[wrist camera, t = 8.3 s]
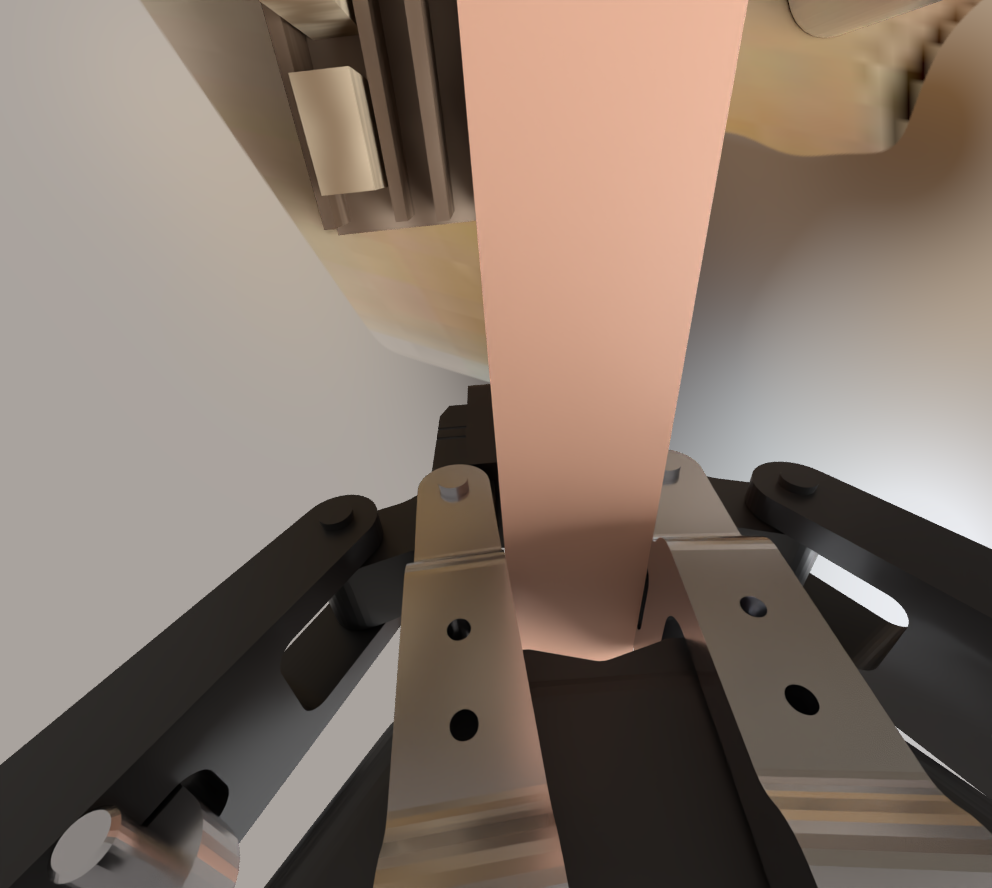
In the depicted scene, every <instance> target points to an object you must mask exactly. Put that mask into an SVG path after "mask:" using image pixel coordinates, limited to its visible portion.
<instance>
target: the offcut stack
mask: <svg viewBox="0 0 992 888" xmlns="http://www.w3.org/2000/svg"><path fill="white" fill-rule="evenodd" d="M259 1H260V2H262V3H263V4H264V5H266V6H267V7H268V8H270V9H271V10H273V11H274V12H275V13H277V14H278V15H279V16H281V17H282V18H283V19H285V20H286V21H288V22H289V23H290V24H292V25H293V26H294V27H296V28H297V29H299V30H300V31H301V32H303V33H304V34H305V35H307V36H308V37H310V38H311V39H312V40H319V39H327V38H336V37H344V36H353V35H359V32H358V27H357V22H356V17H355V12H354V7H353V2H352V0H259ZM288 74H289V77H290V81H291V85H292V88H293V92H294V96H295V99H296V103H297V107H298V110H299V114H300V118H301V122H302V125H303V129H304V133H305V136H306V140H307V144H308V147H309V151H310V155H311V158H312V162H313V166H314V169H315V173H316V177H317V180H318V184H319V188H320V191H321V195H322V196H325V195H335V194H344V193H353V192H362V191H372V190H377V189H381V188H385V187H389V185H388V180H387V175H386V170H385V165H384V160H383V155H382V150H381V145H380V139H379V134H378V129H377V124H376V119H375V114H374V109H373V104H372V99H371V94H370V88H369V83H368V80H367V79H366V78H364V77H363V76H362V75H360V74H359V73H358V72H356V71H355V70H354V69H352V68H351V67H349V66H344V67H336V68H327V69H318V70H310V71H301V72H292V73H288Z"/></svg>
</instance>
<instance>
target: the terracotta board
mask: <svg viewBox="0 0 992 888" xmlns="http://www.w3.org/2000/svg"><path fill="white" fill-rule="evenodd" d="M747 4H748V0H457V6H458V18H459V29H460V41H461V52H462V64H463V75H464V87H465V98H466V110H467V121H468V133H469V144H470V155H471V167H472V178H473V190H474V201H475V213H476V224H477V236H478V247H479V259H480V270H481V282H482V293H483V305H484V316H485V328H486V339H487V350H488V362H489V373H490V385H491V396H492V408H493V419H494V431H495V442H496V454H497V465H498V477H499V488H500V500H501V511H502V523H503V534H504V546H505V557H506V563H507V568H508V574H509V579H510V585H511V590H512V596H513V601H514V607H515V612H516V618H517V623H518V628H519V634H520V639H521V645H522V650H525V649H531V650H536V651H542V652H548V653H554V654H560V655H565V656H571V657H577V658H583V659H589V660H594V661H606V660H609V659H612V658H615V657H618V656H621V655H623V654H626V653H629V652H632V651H633V647H634V646H633V644H634V639H635V633H636V627H637V624H638V619H639V613H640V607H641V602H642V596H643V591H644V585H645V579H646V574H647V568H648V566H647V565H648V559H649V554H650V548H651V542H652V540H653V534H654V529H655V523H656V517H657V512H658V506H659V500H660V495H661V489H662V483H663V478H664V472H665V466H666V461H667V455H668V450H669V444H670V438H671V432H672V427H673V421H674V416H675V409H676V404H677V398H678V393H679V387H680V382H681V376H682V370H683V365H684V359H685V354H686V348H687V342H688V337H689V331H690V325H691V320H692V314H693V308H694V303H695V297H696V292H697V286H698V280H699V275H700V269H701V263H702V258H703V252H704V246H705V241H706V235H707V230H708V224H709V218H710V213H711V206H712V201H713V195H714V190H715V184H716V178H717V172H718V167H719V161H720V156H721V151H722V145H723V139H724V134H725V128H726V122H727V117H728V111H729V105H730V100H731V94H732V89H733V83H734V77H735V72H736V66H737V60H738V55H739V49H740V43H741V38H742V32H743V26H744V21H745V15H746V10H747Z"/></svg>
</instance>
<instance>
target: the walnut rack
mask: <svg viewBox="0 0 992 888" xmlns="http://www.w3.org/2000/svg"><path fill="white" fill-rule="evenodd" d="M352 2H353V7H354V12H355V17H356V22H357V27H358V32H359V35H353V36H344V37H336V38H327V39H319V40H312V39H311V38H310V37H308V36H307V35H305V34H304V33H303V32H301V31H300V30H299V29H297V28H296V27H294V26H293V25H292V24H290V23H289V22H288V21H286V20H285V19H283V18H282V17H281V16H279V15H278V14H277V13H275V12H274V11H273V10H271V9H270V8H268V7H267V6H266V5H264V4H263V3H262V2H261V5H262V8H263V12H264V16H265V19H266V23H267V26H268V30H269V33H270V37H271V41H272V44H273V48H274V51H275V55H276V58H277V62H278V66H279V69H280V73H281V76H282V80H283V84H284V87H285V91H286V94H287V98H288V101H289V105H290V109H291V112H292V116H293V119H294V123H295V126H296V130H297V134H298V137H299V141H300V144H301V148H302V151H303V155H304V159H305V162H306V166H307V169H308V173H309V176H310V180H311V184H312V187H313V191H314V194H315V198H316V201H317V205H318V209H319V212H320V216H321V219H322V223H323V227H324V230H328V229H337V231H338V235H345V234H354V233H363V232H373V231H382V230H392V229H401V228H411V227H420V226H430V225H439V224H449V223H458V222H468V221H476V213H475V201H474V190H473V178H472V167H471V155H470V144H469V133H468V121H467V110H466V98H465V87H464V75H463V64H462V52H461V41H460V29H459V18H458V6H457V0H352ZM344 66H349V67H351V68H352V69H354V70H355V71H356V72H358V73H359V74H360V75H362V76H363V77H364V78H366V79H367V80H368V83H369V88H370V94H371V99H372V104H373V109H374V114H375V119H376V124H377V129H378V134H379V139H380V145H381V150H382V155H383V160H384V165H385V170H386V175H387V180H388V185H389V187H385V188H381V189H377V190H372V191H362V192H353V193H344V194H335V195H325V196H322V195H321V191H320V188H319V184H318V180H317V177H316V173H315V169H314V166H313V162H312V158H311V155H310V151H309V147H308V144H307V140H306V136H305V133H304V129H303V125H302V122H301V118H300V114H299V110H298V107H297V103H296V99H295V96H294V92H293V88H292V85H291V81H290V77H289V74H288V73H292V72H301V71H310V70H318V69H327V68H336V67H344Z"/></svg>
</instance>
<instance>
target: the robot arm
mask: <svg viewBox="0 0 992 888" xmlns="http://www.w3.org/2000/svg"><path fill="white" fill-rule="evenodd" d="M788 1H789V6H790V10H791V13H792V15H793V17H794V19H795V21H796V23H797V24H798V25H799V26H800V27H801V28H802V29H803V30H804V31H805V32H807V33H809V34H810V35H812V36H815V37H821V38H830V37H837V36H840V35H843V34H846V33H849V32H852V31H855V30H857V29H860V28H863V27H866V26H869V25H872V24H875V23H878V22H881V21H884V20H887V19H890V18H893V17H896V16H898V15H901V14H904V13H907V12H910V11H913V10H916V9H918V8H921V7H924V6H927V5H930V4H933V3H936V2H938V1H941V0H788ZM467 403H468V404H467V405H455V406H449V407H448V408H447V409H446V410H445V412H444V413H443V414H442V415H441V416H440V420H439V427H438V434H437V441H436V447H435V455H434V461H433V468H432V472H431V473H429V474H428V475H427V476H425V477H424V478H423V480H422V481H421V482H420V484H419V487H418V494H417V496H415V497H413V498H412V499H410V500H408V501H406V502H403V503H401V504H397V505H394V506H391V507H388V508H384V509H381V510H378V511H377V508H376V506H375V504H374V502H373V501H371V500H370V499H369V498H366V497H364V496H359V495H345V496H339V497H335V498H332V499H329V500H326V501H324V502H322V503H320V504H318V505H317V506H315V507H314V508H313V509H311V510H310V511H309V512H307V513H306V514H305V515H304V516H302V517H301V518H300V519H299V520H298V521H296V522H295V523H294V524H293V525H292V526H290V527H289V528H288V529H287V530H285V531H284V532H283V533H282V534H281V535H279V536H278V537H277V538H276V539H275V540H274V541H272V542H271V543H270V544H269V545H267V546H266V547H265V548H264V549H262V550H261V551H260V552H259V553H258V554H256V555H255V556H254V557H253V558H251V559H250V560H249V561H248V562H247V563H245V564H244V565H243V566H242V567H241V568H239V569H238V570H237V571H236V572H235V573H233V574H232V575H231V576H230V577H228V578H227V579H226V580H225V581H224V582H222V583H221V584H220V585H219V586H217V587H216V588H215V589H214V590H213V591H212V592H210V593H209V594H208V595H206V596H205V597H204V598H203V599H202V600H200V601H199V602H198V603H197V604H196V605H194V606H193V607H192V608H191V609H190V610H188V611H187V612H186V613H185V614H183V615H182V616H181V617H180V618H178V619H177V620H176V621H175V622H174V623H172V624H171V625H170V626H169V627H168V628H167V629H165V630H164V631H163V632H162V633H160V634H159V635H158V636H157V637H155V638H154V639H153V640H152V641H151V642H149V643H148V644H147V645H146V646H144V647H143V648H142V649H141V650H140V651H138V652H137V653H136V654H135V655H133V656H132V657H131V658H130V659H129V660H127V661H126V662H125V663H124V664H123V665H122V666H120V667H119V668H118V669H116V670H115V671H114V672H113V673H112V674H110V675H109V676H108V677H107V678H106V679H104V680H103V681H102V682H101V683H100V684H98V685H97V686H96V687H95V688H93V689H92V690H91V691H90V692H89V693H87V694H86V695H85V696H84V697H83V698H81V699H80V700H79V701H78V702H76V703H75V704H74V705H73V706H72V707H70V708H69V709H68V710H67V711H65V712H64V713H63V714H62V715H61V716H60V717H58V718H57V719H56V720H55V721H53V722H52V723H51V724H50V725H48V726H47V727H46V728H45V729H44V730H42V731H41V732H40V733H39V734H38V735H36V736H35V737H34V738H33V739H31V740H30V741H29V742H28V743H27V744H25V745H24V746H23V747H22V748H21V749H19V750H18V751H17V752H16V753H14V754H13V755H12V756H11V757H9V758H8V759H7V760H6V761H5V762H3V763H2V764H1V765H0V888H234V887H235V883H236V880H237V875H238V871H239V862H240V850H239V843H240V841H241V840H242V839H243V837H244V836H245V835H246V833H247V832H248V831H249V829H250V828H251V826H252V825H253V824H254V822H255V821H256V820H257V818H258V817H259V816H260V814H261V813H262V812H263V810H264V809H265V808H266V806H267V805H268V804H269V802H270V801H271V799H272V798H273V797H274V796H275V794H276V793H277V791H278V790H279V789H280V787H281V786H282V785H283V783H284V782H285V781H286V779H287V778H288V777H289V775H290V774H291V772H292V771H293V770H294V769H295V767H296V766H297V765H298V763H299V762H300V760H301V759H302V758H303V756H304V755H305V754H306V752H307V751H308V750H309V748H310V747H311V746H312V744H313V743H314V742H315V740H316V739H317V737H318V736H319V735H320V733H321V732H322V731H323V729H324V728H325V727H326V725H327V724H328V723H329V721H330V720H331V719H332V717H333V716H334V715H335V713H336V712H337V711H338V709H339V708H340V707H341V705H342V704H343V703H344V701H345V700H346V698H347V697H348V696H349V694H350V693H351V692H352V690H353V689H354V688H355V686H356V685H357V684H358V682H359V681H360V680H361V678H362V677H363V676H364V674H365V673H366V671H367V670H368V669H369V667H370V666H371V665H372V663H373V662H374V661H375V659H376V658H377V657H378V655H379V654H380V653H381V651H382V650H383V649H384V647H385V646H386V645H387V643H388V642H389V641H390V639H391V638H392V637H393V635H394V634H395V632H396V631H397V630H398V628H399V627H400V625H401V629H400V644H399V657H398V671H397V685H396V698H395V712H394V722H393V723H392V724H391V725H390V726H389V727H388V728H387V730H386V731H385V732H384V733H383V735H382V736H381V737H380V738H379V740H378V741H377V742H376V744H375V745H374V746H373V747H372V749H371V750H370V751H369V753H368V754H367V755H366V756H365V758H364V759H363V760H362V762H361V763H360V765H358V767H357V768H356V769H355V771H354V772H353V773H352V775H351V776H350V777H349V779H348V780H347V781H346V782H345V784H344V785H343V786H342V787H341V789H340V790H339V791H338V793H337V794H336V795H335V797H334V798H333V799H332V800H331V802H330V803H329V804H328V806H327V807H326V808H325V809H324V811H323V812H322V814H321V815H320V816H319V817H318V818H317V820H316V821H315V822H314V824H313V825H312V826H311V827H310V829H309V830H308V831H307V833H306V834H305V835H304V837H303V838H302V839H301V841H300V842H299V843H298V844H297V846H296V847H295V848H294V849H293V851H292V852H291V853H290V855H289V856H288V857H287V859H286V860H285V861H284V862H283V864H282V865H281V867H280V868H279V869H278V870H277V871H276V873H275V874H274V875H273V877H272V878H271V879H270V880H269V882H268V883H267V884H266V886H265V887H264V888H992V549H990V548H988V547H985V546H983V545H981V544H979V543H977V542H975V541H972V540H970V539H968V538H966V537H964V536H961V535H959V534H957V533H955V532H953V531H950V530H948V529H946V528H944V527H942V526H939V525H937V524H935V523H933V522H930V521H928V520H926V519H924V518H922V517H919V516H917V515H915V514H913V513H911V512H908V511H906V510H904V509H902V508H900V507H897V506H895V505H893V504H891V503H889V502H886V501H884V500H882V499H880V498H878V497H875V496H873V495H871V494H869V493H867V492H864V491H862V490H860V489H858V488H856V487H853V486H851V485H849V484H847V483H844V482H842V481H840V480H838V479H836V478H834V477H831V476H829V475H827V474H825V473H823V472H820V471H818V470H815V469H813V468H810V467H807V466H804V465H800V464H796V463H790V462H770V463H765V464H762V465H760V466H758V467H757V468H756V469H755V470H754V471H753V474H752V477H751V480H750V482H742V481H741V482H740V481H733V480H725V479H718V478H712V477H707V476H706V475H705V473H704V471H703V470H702V468H701V466H700V465H699V464H698V463H697V462H696V461H695V460H693V459H692V458H691V457H689V456H687V455H684V454H682V453H680V452H677V451H673V450H668V455H667V461H666V466H665V472H664V478H663V483H662V489H661V495H660V500H659V506H658V512H657V517H656V523H655V529H654V534H653V540H652V542H651V548H650V554H649V559H648V565H647V566H648V568H647V574H646V579H645V585H644V591H643V596H642V602H641V607H640V613H639V619H638V624H637V627H636V633H635V639H634V644H633V646H634V651H632V652H629V653H626V654H623V655H621V656H618V657H615V658H612V659H609V660H606V661H594V660H589V659H583V658H577V657H571V656H565V655H560V654H554V653H548V652H542V651H536V650H531V649H525V650H522V645H521V639H520V634H519V628H518V623H517V618H516V612H515V607H514V601H513V596H512V590H511V585H510V579H509V574H508V568H507V563H506V558H505V553H504V550H502V549H501V548H505V546H504V534H503V523H502V511H501V500H500V488H499V477H498V465H497V454H496V442H495V431H494V419H493V408H492V396H491V385H490V384H486V385H473V386H468V401H467ZM818 554H819V555H821V556H823V557H825V558H826V559H828V560H830V561H831V562H833V563H835V564H836V565H838V566H840V567H842V568H843V569H845V570H847V571H848V572H850V573H852V574H854V575H855V576H857V577H859V578H860V579H862V580H864V581H866V582H867V583H869V584H870V585H872V586H874V587H876V588H877V589H879V590H881V591H882V592H884V593H886V594H888V595H889V596H891V597H892V598H893V599H895V600H896V601H897V602H898V603H899V604H900V605H901V606H902V607H903V609H904V610H905V612H906V613H907V616H908V619H909V625H908V627H901V626H897V625H894V624H891V623H889V622H887V621H886V620H884V619H882V618H881V617H879V616H878V615H876V614H874V613H873V612H871V611H870V610H868V609H866V608H865V607H863V606H862V605H860V604H858V603H857V602H855V601H854V600H852V599H851V598H848V597H847V596H846V595H844V594H842V593H841V592H839V591H838V590H836V589H834V588H833V587H831V586H830V585H828V584H827V583H825V582H823V581H822V580H820V579H819V578H817V577H815V576H814V575H812V574H811V573H810V571H811V568H812V566H813V564H814V562H815V560H816V558H817V556H818ZM328 601H329V604H328V605H327V607H326V608H325V609H324V610H323V611H322V612H321V613H320V614H319V615H318V616H317V617H316V618H315V619H314V620H313V622H312V623H311V624H310V625H309V626H308V627H307V628H306V629H305V630H304V631H303V632H302V633H301V634H300V636H299V637H298V638H297V639H296V640H295V641H294V642H293V643H292V644H291V645H290V646H289V647H288V649H287V650H286V651H285V649H286V648H287V646H288V644H289V643H290V642H291V641H292V639H293V638H294V637H295V636H296V635H297V634H298V633H299V632H300V631H301V630H302V629H303V628H304V626H305V625H306V624H307V623H308V622H309V621H310V620H311V619H312V618H313V617H314V616H315V615H316V614H317V613H318V612H319V611H320V609H321V608H322V607H323V606H324V605H325V604H326V603H327V602H328ZM284 651H285V652H284ZM895 726H896V727H897V728H899V729H900V730H901V731H902V732H904V733H905V734H906V735H908V736H909V737H910V738H912V739H913V740H914V741H915V742H917V743H918V744H919V745H921V746H922V747H923V748H925V749H926V750H927V751H928V752H930V753H931V754H932V755H934V756H935V757H936V758H938V759H939V760H940V761H941V762H943V763H944V764H945V765H947V766H948V767H949V768H951V769H952V770H953V771H955V772H956V773H957V774H959V775H960V776H961V777H962V778H964V779H965V780H966V781H967V782H969V783H970V784H971V785H973V786H974V787H975V788H977V789H978V790H979V791H980V792H979V791H978V790H976V789H975V788H973V787H972V786H971V785H969V784H968V783H966V782H965V781H963V780H962V779H960V778H959V777H958V776H956V775H954V774H953V773H952V772H950V771H949V770H947V769H946V768H944V767H943V766H941V765H940V764H938V763H937V762H936V761H934V760H933V759H931V758H930V757H928V756H927V755H925V754H924V753H922V752H921V751H919V750H918V749H917V748H915V747H914V746H912V745H911V744H909V743H908V742H906V741H905V740H904V739H903V738H902V736H901V735H900V733H899V731H898V730H897V728H896V727H895ZM981 792H982V793H983V794H982V793H981ZM985 795H986V796H985Z"/></svg>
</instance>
